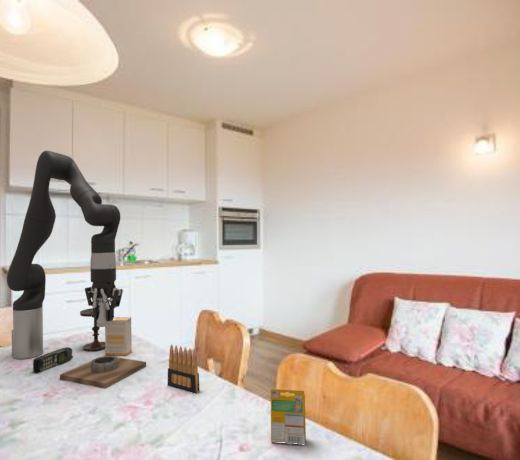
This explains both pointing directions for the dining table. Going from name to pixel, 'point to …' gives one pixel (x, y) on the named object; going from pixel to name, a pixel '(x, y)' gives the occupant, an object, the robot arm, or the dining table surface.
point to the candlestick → (96, 344)
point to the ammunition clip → (183, 370)
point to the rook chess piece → (102, 315)
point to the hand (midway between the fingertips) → (103, 319)
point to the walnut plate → (102, 379)
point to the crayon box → (288, 416)
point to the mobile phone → (52, 359)
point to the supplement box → (118, 336)
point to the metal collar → (104, 364)
